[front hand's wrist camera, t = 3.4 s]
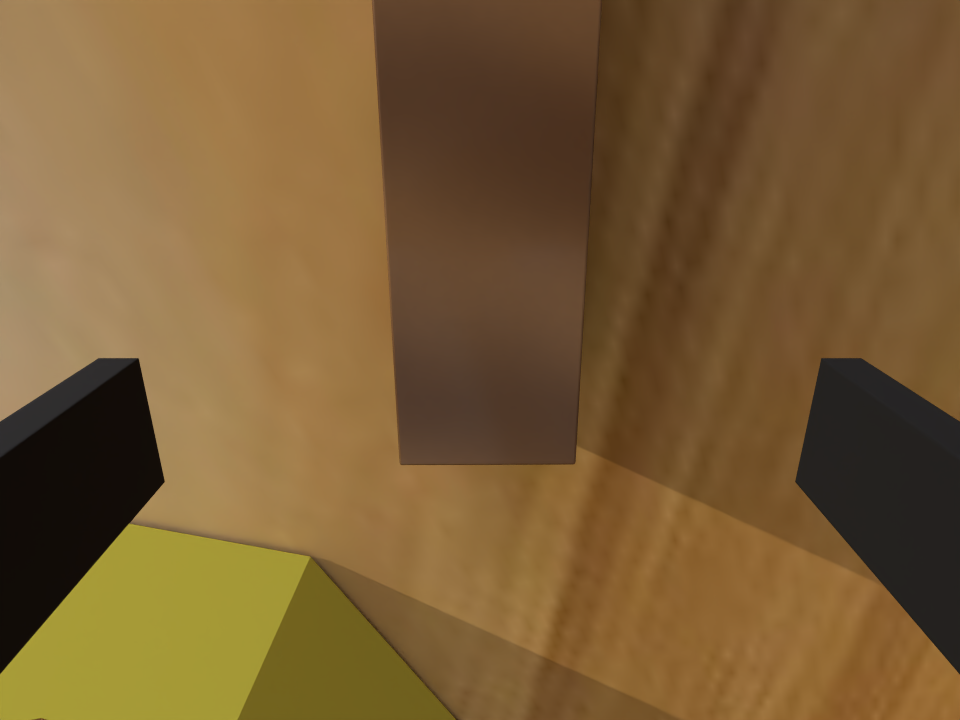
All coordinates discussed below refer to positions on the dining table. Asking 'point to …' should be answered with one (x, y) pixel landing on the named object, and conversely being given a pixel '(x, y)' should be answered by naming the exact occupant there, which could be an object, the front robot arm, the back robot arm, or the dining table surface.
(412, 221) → the beam
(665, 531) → the dining table surface
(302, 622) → the crown
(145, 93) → the dining table surface
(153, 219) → the dining table surface
